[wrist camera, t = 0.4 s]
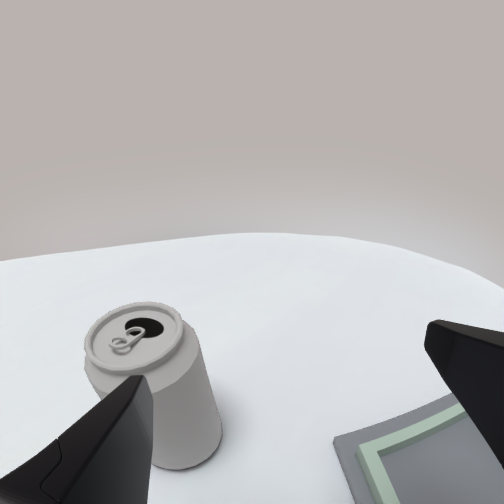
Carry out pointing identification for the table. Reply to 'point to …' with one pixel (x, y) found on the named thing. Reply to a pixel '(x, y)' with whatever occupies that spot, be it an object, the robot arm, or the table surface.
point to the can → (158, 377)
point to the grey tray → (422, 459)
